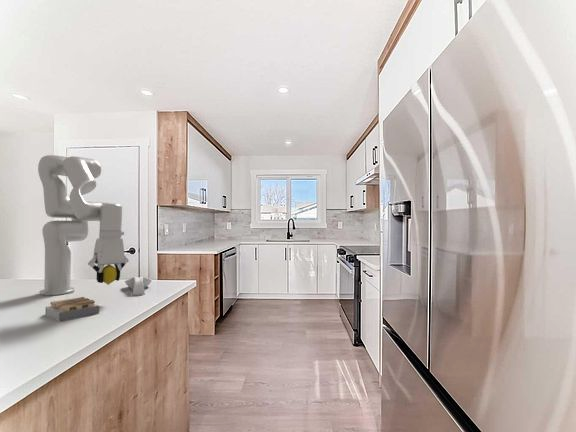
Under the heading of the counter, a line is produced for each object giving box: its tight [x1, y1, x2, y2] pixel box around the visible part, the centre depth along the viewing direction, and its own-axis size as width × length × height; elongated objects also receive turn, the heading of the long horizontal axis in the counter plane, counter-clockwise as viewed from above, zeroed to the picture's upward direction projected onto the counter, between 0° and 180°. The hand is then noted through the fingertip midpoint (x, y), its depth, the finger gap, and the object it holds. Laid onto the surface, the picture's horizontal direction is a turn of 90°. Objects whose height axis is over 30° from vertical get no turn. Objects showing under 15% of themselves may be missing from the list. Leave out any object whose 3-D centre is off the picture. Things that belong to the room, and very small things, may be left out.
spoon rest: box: [124, 276, 153, 296], centre depth 155 cm, size 24×12×7 cm, turn 26°
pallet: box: [50, 296, 96, 312], centre depth 116 cm, size 10×10×2 cm
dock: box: [44, 303, 100, 322], centre depth 115 cm, size 12×12×3 cm
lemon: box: [102, 264, 117, 286], centre depth 131 cm, size 6×6×8 cm
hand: (108, 280), depth 131 cm, fingers closed on lemon, 5 cm apart
